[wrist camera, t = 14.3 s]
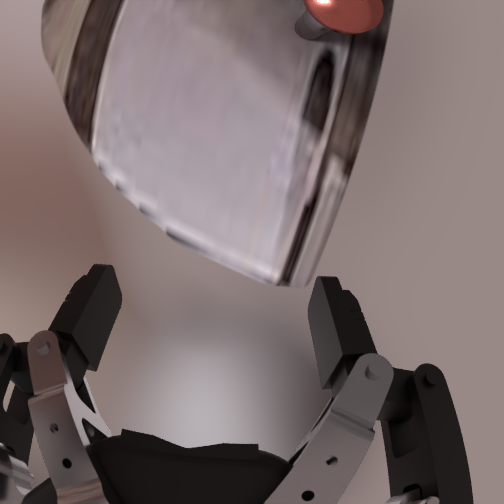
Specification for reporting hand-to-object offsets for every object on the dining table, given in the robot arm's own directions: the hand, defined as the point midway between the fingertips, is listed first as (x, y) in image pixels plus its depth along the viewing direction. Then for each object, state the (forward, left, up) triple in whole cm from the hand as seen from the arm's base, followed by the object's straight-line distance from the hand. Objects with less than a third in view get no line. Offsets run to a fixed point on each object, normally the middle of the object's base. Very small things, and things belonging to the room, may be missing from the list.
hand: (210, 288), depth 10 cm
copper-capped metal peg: (-13, +17, -28) cm, 35 cm away
